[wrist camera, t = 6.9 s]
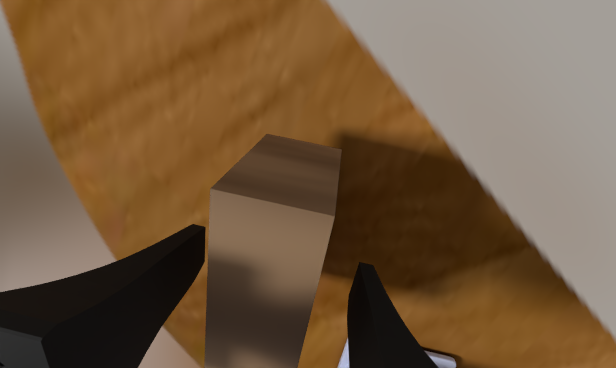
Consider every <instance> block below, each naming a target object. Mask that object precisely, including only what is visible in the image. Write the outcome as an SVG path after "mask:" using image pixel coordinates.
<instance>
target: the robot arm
mask: <svg viewBox="0 0 616 368" xmlns="http://www.w3.org/2000/svg"><path fill="white" fill-rule="evenodd" d="M204 262H205V227H203V226H199V225H195V224H192V225H190V226H188V227H186V228H184V229H182V230H180V231H179V232H177V233H175V234H173V235H171V236H169V237H167V238H165V239H164V240H162V241H160V242H158V243H156V244H154V245H152V246H150V247H148V248H145V249H143V250H141V251H139V252H137V253H135V254H133V255H131V256H128V257H126V258H123V259H121V260H119V261H116V262H113V263H111V264H108V265H105V266H103V267H100V268H97V269H94V270H90V271H87V272H84V273H81V274H78V275H75V276H71V277H68V278H64V279H61V280H56V281H52V282H48V283H44V284H40V285H35V286H30V287H26V288H20V289H15V290H10V291H5V292H0V368H138V366H139V365H140V363H141V361H142V359H143V357H144V356H145V354H146V352H147V350H148V349H149V347H150V345H151V343H152V342H153V340H154V338H155V337H156V335H157V333H158V331H159V330H160V328H161V327H162V325H163V324H164V322H165V321H166V320H167V318H168V317H169V315H170V314H171V313H172V311H173V310H174V309H175V307H176V306H177V304H178V303H179V302H180V300H181V299H182V297H183V296H184V295H185V293H186V292H187V290H188V289H189V288H190V286H191V285H192V283H193V282H194V280H195V279H196V277H197V275H198V273H199V271H200V269H201V267H202V266H203V264H204ZM347 327H348V339H347V342H346V344H345V347H344V350H343V353H342V356H341V359H340V362H339V365H338V368H455V367H456V362H455V359H454V358H452V357H449V356H445V355H441V354H437V353H433V352H429V351H425V350H423V348H422V347H421V346H420V345H419V343H418V342H417V341H416V339H415V338H414V336H413V335H412V334H411V332H410V331H409V330H408V328H407V327H406V325H405V324H404V322H403V320H402V319H401V317H400V316H399V314H398V312H397V311H396V309H395V307H394V306H393V304H392V302H391V300H390V298H389V296H388V295H387V293H386V291H385V289H384V287H383V285H382V283H381V281H380V279H379V277H378V274H377V272H376V270H375V268H374V266H373V265H370V264H365V263H361V262H359V265H358V268H357V271H356V274H355V278H354V281H353V284H352V287H351V290H350V293H349V299H348V312H347Z"/></svg>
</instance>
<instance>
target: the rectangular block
mask: <svg viewBox="0 0 616 368" xmlns="http://www.w3.org/2000/svg"><path fill="white" fill-rule="evenodd" d="M341 153H342V149H337V148H333V147H328V146H323V145H318V144H313V143H309V142H304V141H299V140H294V139H290V138H285V137H280V136H275V135H270V134H266V135H265V136H264V137H263V138H262V139H261V140H260V141H259V142H258V143H257V144H256V145H255V146H254V147H253V148H252V149H251V150H250V151H249V152H248V153H247V154H246V155H245V156H244V157H243V158H242V159H241V160H240V161H239V162H237V163H236V164H235V165H234V166H233V167H232V168H231V169H230V170H229V171H228V172H227V173H226V174H225V175H224V176H223V177H222V178H221V179H220V180H219V181H218V182H217V183H216V184H215V185H214V186H213V187H212V188H211V189H210V214H209V245H208V276H207V307H206V338H205V368H297V367H298V363H299V359H300V355H301V351H302V347H303V343H304V339H305V335H306V331H307V327H308V323H309V319H310V315H311V310H312V306H313V302H314V298H315V294H316V290H317V286H318V282H319V278H320V274H321V270H322V266H323V262H324V258H325V254H326V250H327V246H328V242H329V238H330V234H331V230H332V226H333V222H334V218H335V211H336V201H337V192H338V182H339V172H340V162H341Z"/></svg>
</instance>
